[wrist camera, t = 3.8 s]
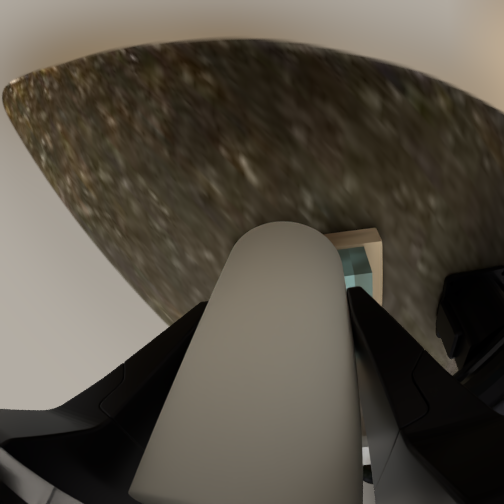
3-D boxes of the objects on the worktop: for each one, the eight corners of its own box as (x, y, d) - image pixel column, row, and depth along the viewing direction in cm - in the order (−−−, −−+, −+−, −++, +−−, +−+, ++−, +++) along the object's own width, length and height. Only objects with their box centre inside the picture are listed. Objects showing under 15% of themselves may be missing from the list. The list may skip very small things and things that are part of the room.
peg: (336, 213, 9) (375, 509, 2) (345, 313, 11) (354, 537, 4) (213, 230, 10) (81, 465, 3) (243, 322, 12) (185, 524, 5)
